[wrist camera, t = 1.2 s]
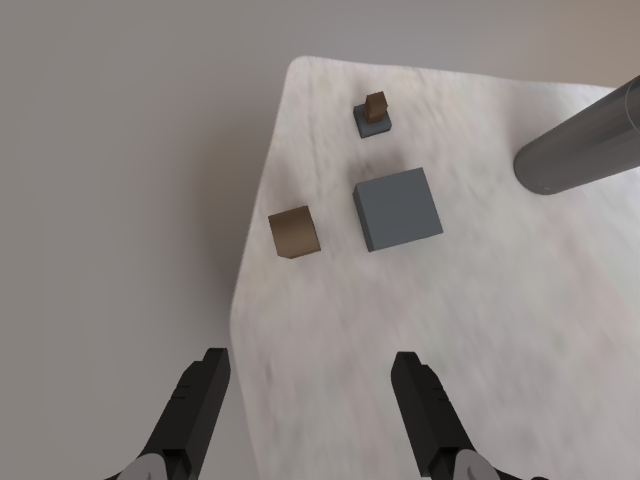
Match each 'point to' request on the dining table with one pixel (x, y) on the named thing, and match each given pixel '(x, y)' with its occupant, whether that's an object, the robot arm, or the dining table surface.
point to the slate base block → (396, 209)
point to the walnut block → (294, 233)
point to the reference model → (372, 115)
